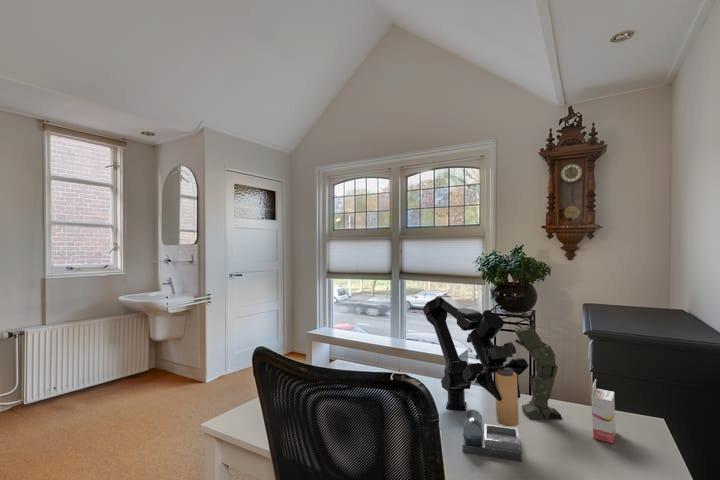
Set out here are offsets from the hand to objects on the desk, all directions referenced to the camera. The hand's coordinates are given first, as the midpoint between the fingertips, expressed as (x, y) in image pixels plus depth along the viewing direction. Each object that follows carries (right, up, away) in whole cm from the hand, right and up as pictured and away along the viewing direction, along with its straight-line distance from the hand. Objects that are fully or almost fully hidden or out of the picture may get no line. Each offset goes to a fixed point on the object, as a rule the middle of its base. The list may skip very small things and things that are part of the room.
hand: (509, 399), depth 96 cm
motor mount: (-4, -14, +2) cm, 14 cm away
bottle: (0, -7, +1) cm, 7 cm away
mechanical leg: (+18, -14, +19) cm, 30 cm away
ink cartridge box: (+30, -13, +6) cm, 33 cm away
